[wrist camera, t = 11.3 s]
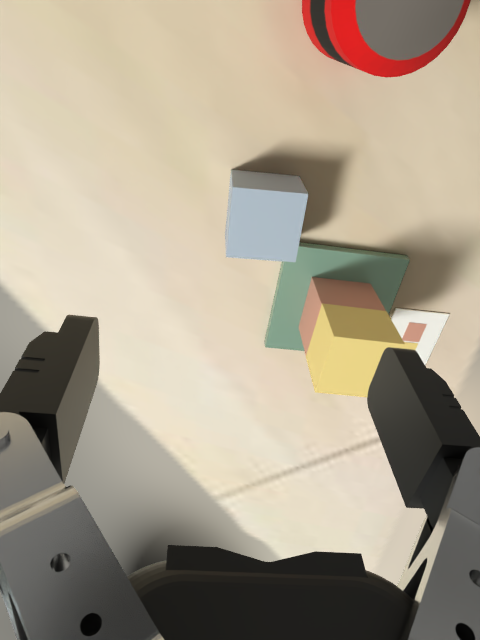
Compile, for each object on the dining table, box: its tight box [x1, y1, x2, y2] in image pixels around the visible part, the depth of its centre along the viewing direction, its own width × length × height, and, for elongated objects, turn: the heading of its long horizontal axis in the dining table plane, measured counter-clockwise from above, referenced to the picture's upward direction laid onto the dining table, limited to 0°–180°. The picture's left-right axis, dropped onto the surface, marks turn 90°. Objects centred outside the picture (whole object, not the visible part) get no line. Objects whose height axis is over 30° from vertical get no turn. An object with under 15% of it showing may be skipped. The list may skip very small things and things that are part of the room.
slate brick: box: [225, 170, 308, 262], centre depth 40 cm, size 6×6×5 cm
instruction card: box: [391, 308, 450, 365], centre depth 51 cm, size 8×6×1 cm
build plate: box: [265, 242, 410, 351], centre depth 47 cm, size 12×12×1 cm
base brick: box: [299, 277, 386, 354], centre depth 45 cm, size 6×6×5 cm
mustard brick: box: [306, 303, 405, 397], centre depth 40 cm, size 6×6×5 cm
